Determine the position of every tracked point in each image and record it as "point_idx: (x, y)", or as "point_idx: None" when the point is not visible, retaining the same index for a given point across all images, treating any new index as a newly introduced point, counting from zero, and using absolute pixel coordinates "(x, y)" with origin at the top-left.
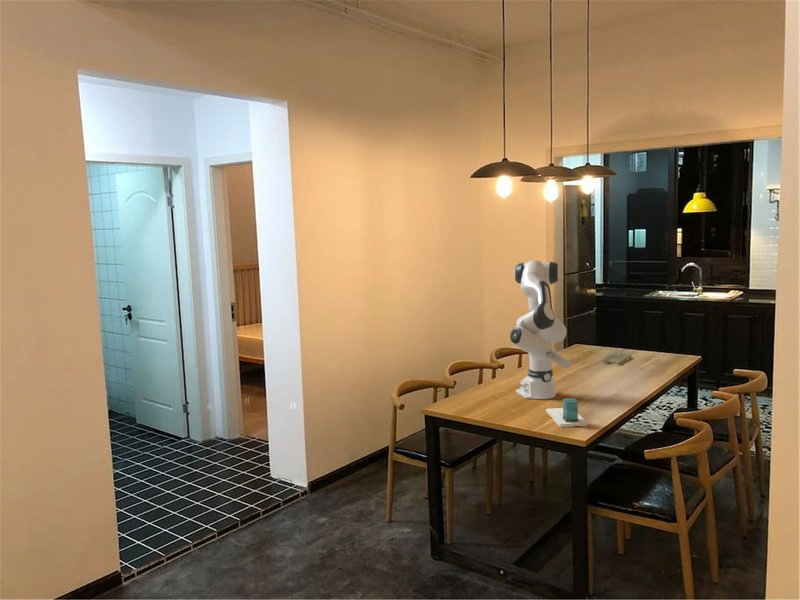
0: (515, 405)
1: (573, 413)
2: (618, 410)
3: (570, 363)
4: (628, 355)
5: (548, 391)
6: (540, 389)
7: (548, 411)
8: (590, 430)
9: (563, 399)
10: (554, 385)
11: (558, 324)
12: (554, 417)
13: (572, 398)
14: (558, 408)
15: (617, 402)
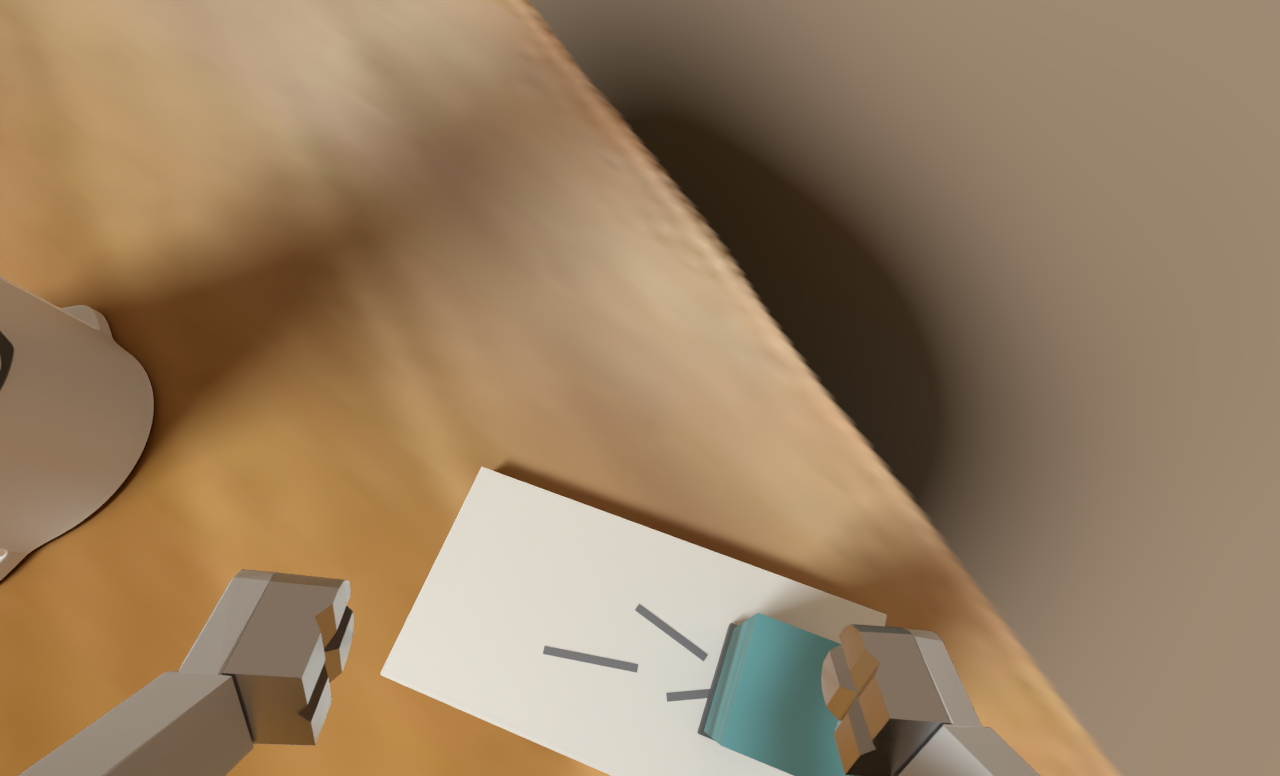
0: None
1: None
2: (648, 224)
3: (947, 659)
4: None
5: (91, 413)
6: (23, 469)
7: (447, 703)
8: (979, 667)
9: (733, 750)
10: (44, 304)
11: None
12: None
13: (753, 634)
14: (439, 574)
15: (510, 138)
